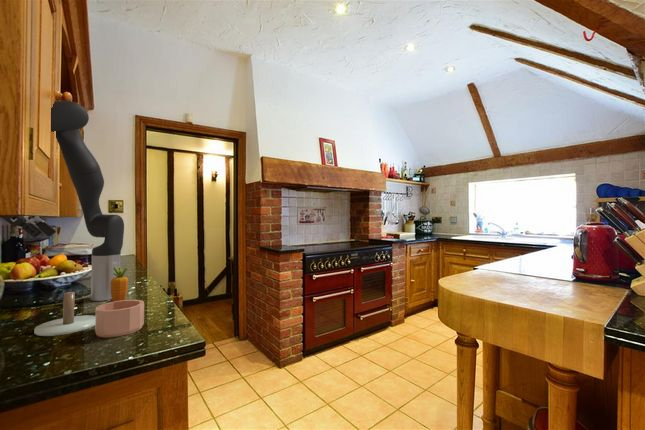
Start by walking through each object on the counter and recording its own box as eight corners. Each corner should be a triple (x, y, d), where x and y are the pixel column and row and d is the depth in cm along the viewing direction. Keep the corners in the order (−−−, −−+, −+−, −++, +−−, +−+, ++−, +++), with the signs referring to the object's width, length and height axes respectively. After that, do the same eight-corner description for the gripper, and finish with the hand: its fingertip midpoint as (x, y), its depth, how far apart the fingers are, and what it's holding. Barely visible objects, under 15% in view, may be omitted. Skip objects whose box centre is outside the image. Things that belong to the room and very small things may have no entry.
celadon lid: (36, 326, 84) (37, 292, 84) (97, 316, 93) (97, 285, 94) (31, 341, 74) (33, 302, 74) (100, 328, 83) (101, 293, 83)
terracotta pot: (93, 329, 82) (94, 304, 82) (139, 320, 89) (139, 297, 89) (96, 341, 73) (97, 313, 73) (146, 330, 81) (147, 305, 81)
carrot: (130, 308, 101) (132, 265, 101) (119, 312, 96) (120, 267, 96) (117, 307, 102) (119, 265, 102) (106, 312, 97) (107, 267, 97)
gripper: (-10, 180, 73) (47, 225, 77) (20, 186, 86) (68, 225, 90) (-41, 200, 70) (20, 246, 75) (-5, 203, 83) (45, 242, 88)
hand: (46, 234), depth 82 cm, fingers open, 8 cm apart
